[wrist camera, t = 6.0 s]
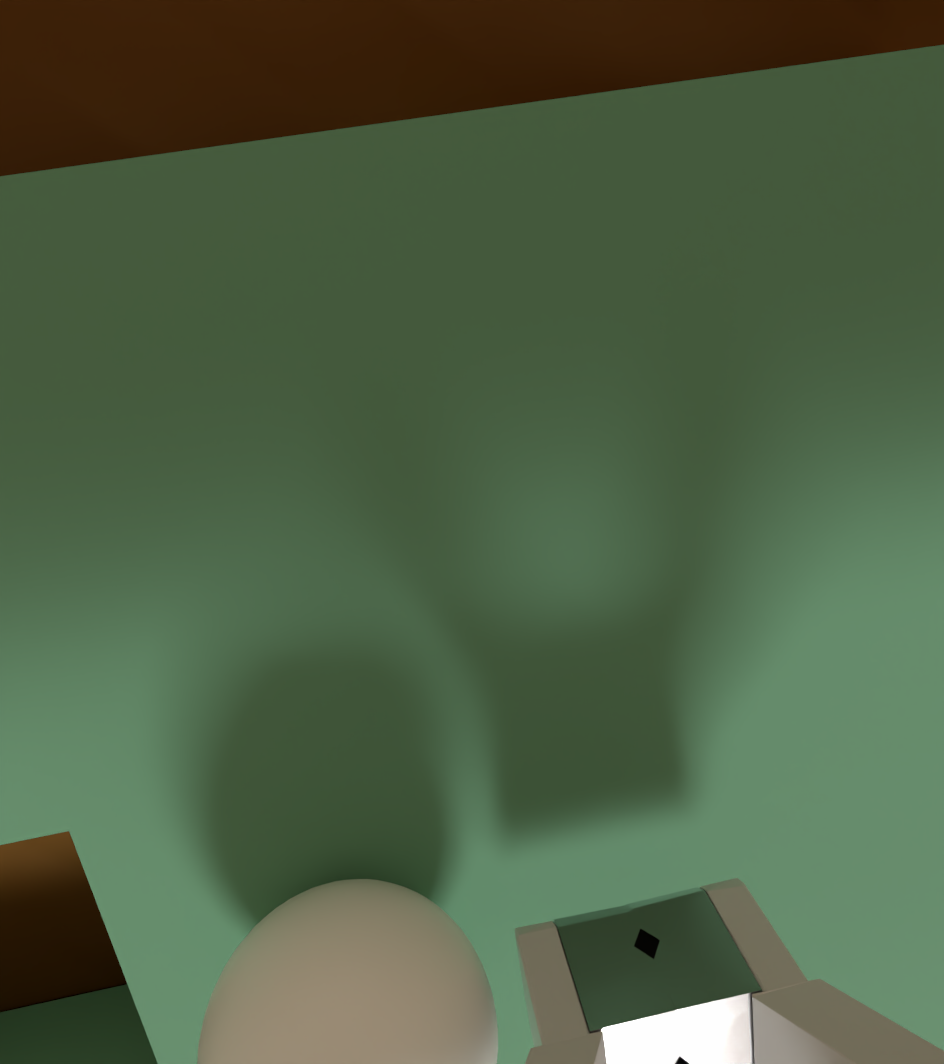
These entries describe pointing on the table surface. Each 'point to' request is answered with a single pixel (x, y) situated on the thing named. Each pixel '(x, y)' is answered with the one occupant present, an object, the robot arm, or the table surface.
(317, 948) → the ball
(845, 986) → the green box with hole
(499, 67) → the table surface
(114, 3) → the table surface
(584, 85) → the table surface
